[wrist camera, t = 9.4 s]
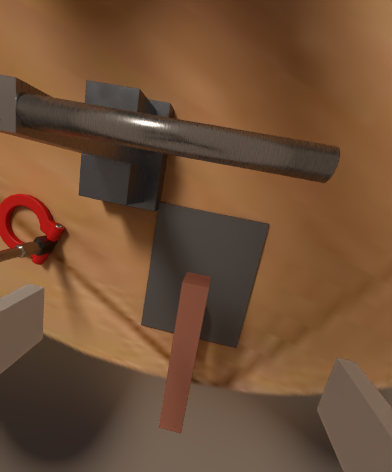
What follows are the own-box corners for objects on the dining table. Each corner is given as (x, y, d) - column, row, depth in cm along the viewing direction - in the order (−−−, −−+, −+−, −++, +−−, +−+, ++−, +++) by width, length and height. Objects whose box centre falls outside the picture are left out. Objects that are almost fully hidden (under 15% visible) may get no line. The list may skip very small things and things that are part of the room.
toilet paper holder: (109, 98, 27) (-96, -68, 9) (276, 127, 25) (392, -8, 8) (100, 197, 29) (-73, 209, 12) (250, 228, 28) (297, 291, 11)
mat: (160, 202, 29) (159, 202, 28) (268, 224, 28) (269, 224, 27) (141, 323, 33) (141, 324, 32) (236, 346, 32) (236, 348, 31)
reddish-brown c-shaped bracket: (182, 282, 20) (158, 427, 24) (209, 287, 19) (180, 433, 23) (196, 251, 29) (177, 359, 33) (214, 254, 29) (193, 363, 33)
